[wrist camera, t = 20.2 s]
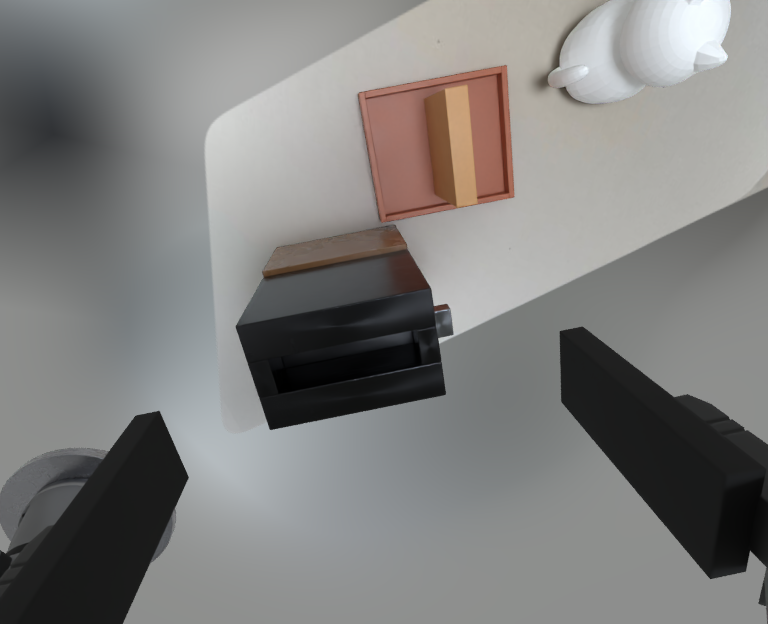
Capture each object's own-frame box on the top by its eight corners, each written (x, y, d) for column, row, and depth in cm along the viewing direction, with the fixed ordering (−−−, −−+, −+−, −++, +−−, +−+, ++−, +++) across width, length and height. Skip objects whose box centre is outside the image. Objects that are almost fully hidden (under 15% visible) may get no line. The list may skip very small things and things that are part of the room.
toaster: (297, 325, 55) (271, 435, 34) (276, 247, 51) (232, 320, 30) (421, 300, 55) (469, 395, 34) (409, 221, 51) (455, 276, 31)
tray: (380, 219, 51) (381, 222, 49) (357, 94, 46) (358, 92, 44) (508, 195, 51) (514, 197, 49) (499, 68, 46) (506, 65, 44)
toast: (423, 98, 46) (444, 88, 37) (442, 95, 46) (467, 84, 37) (435, 195, 50) (456, 208, 40) (452, 192, 50) (477, 204, 40)
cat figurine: (651, 77, 48) (779, 52, 34) (545, 132, 49) (626, 130, 35) (631, -13, 44) (764, -82, 30) (518, 49, 45) (596, 9, 32)
